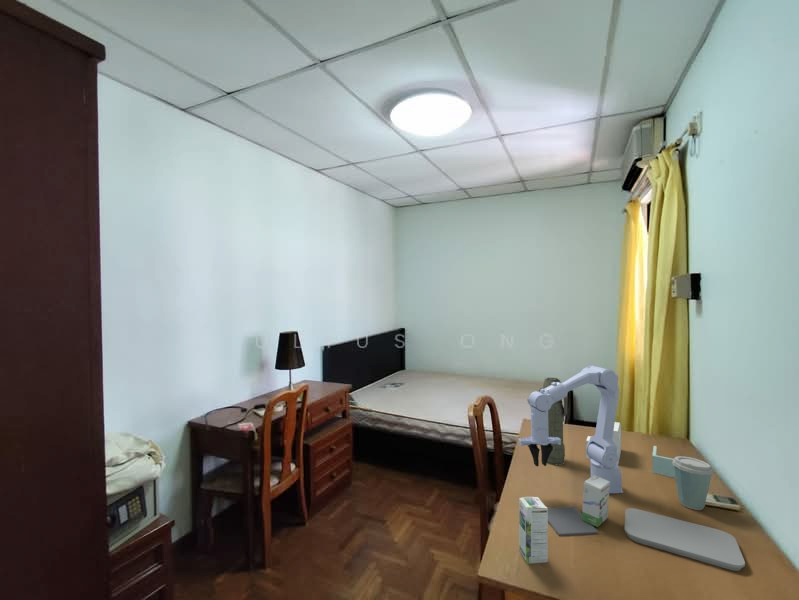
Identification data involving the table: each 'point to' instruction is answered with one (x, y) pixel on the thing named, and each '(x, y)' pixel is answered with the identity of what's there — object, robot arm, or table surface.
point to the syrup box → (533, 530)
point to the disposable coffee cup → (692, 481)
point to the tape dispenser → (615, 438)
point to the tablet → (684, 538)
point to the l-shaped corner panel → (662, 464)
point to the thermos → (556, 425)
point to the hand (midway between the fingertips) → (540, 464)
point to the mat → (569, 522)
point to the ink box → (595, 500)
